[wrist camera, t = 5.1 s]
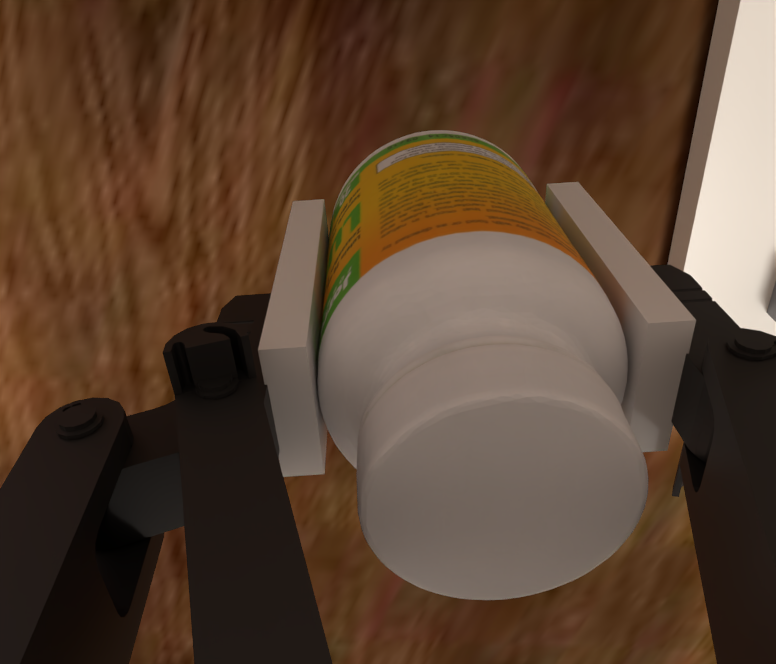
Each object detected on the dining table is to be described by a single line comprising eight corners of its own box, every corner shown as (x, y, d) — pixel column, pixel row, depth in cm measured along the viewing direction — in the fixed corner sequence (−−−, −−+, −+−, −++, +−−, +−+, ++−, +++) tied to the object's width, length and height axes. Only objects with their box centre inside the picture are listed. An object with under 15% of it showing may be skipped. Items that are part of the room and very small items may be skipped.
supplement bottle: (320, 131, 16) (277, 357, 7) (544, 119, 16) (749, 330, 7) (339, 323, 19) (323, 642, 10) (529, 313, 19) (665, 622, 10)
